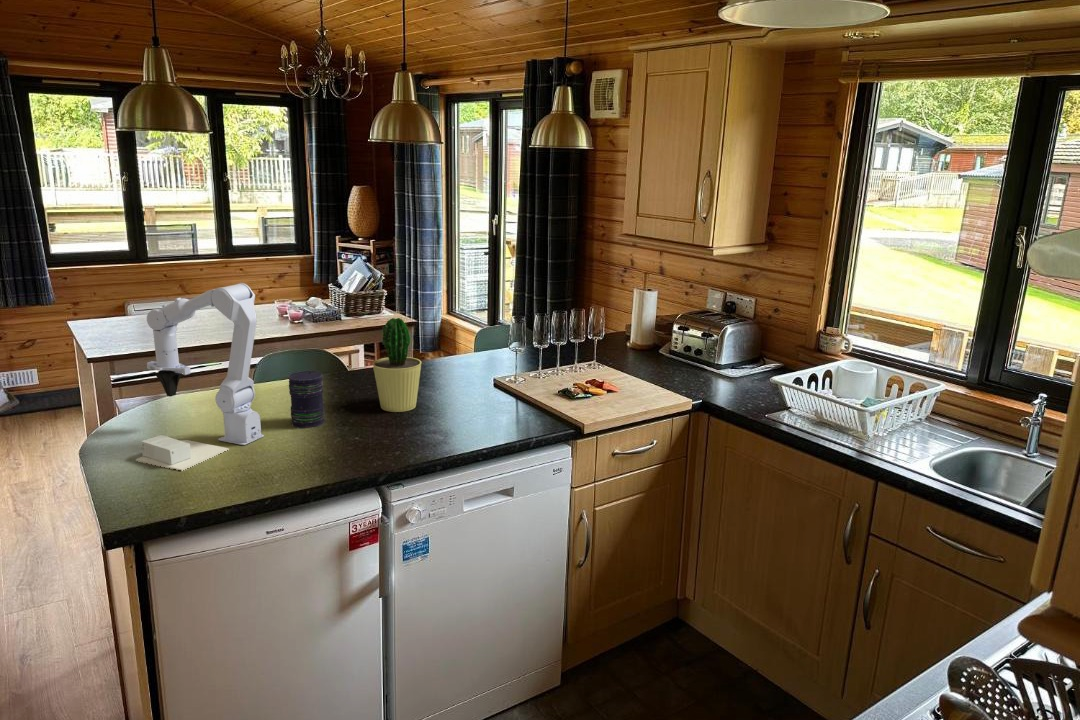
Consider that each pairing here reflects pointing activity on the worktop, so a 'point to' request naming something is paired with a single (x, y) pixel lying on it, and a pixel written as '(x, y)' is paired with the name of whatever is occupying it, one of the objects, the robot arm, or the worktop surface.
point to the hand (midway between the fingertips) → (171, 395)
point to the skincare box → (166, 449)
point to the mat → (198, 455)
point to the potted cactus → (397, 370)
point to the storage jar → (306, 399)
